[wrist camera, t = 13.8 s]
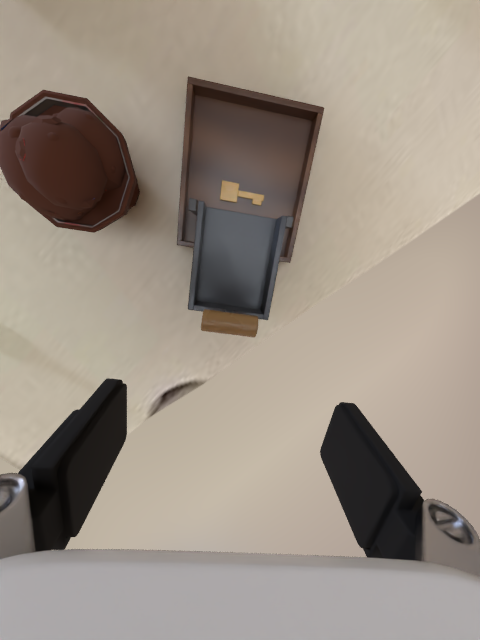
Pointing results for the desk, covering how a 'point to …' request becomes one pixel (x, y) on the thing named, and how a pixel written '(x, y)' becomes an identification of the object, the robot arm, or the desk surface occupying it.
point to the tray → (246, 155)
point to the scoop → (234, 269)
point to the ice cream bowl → (68, 162)
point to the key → (238, 193)
